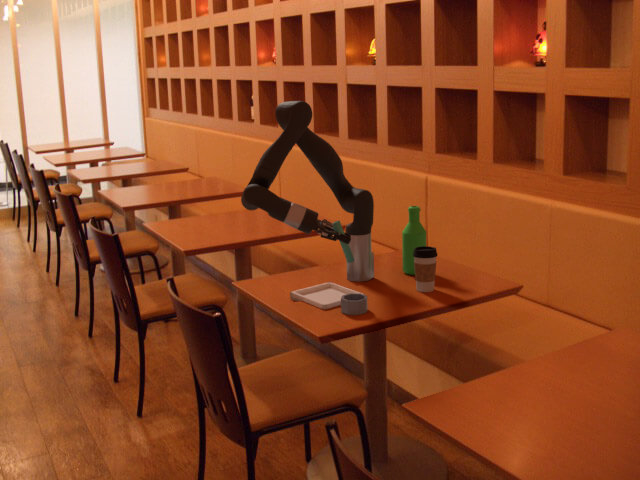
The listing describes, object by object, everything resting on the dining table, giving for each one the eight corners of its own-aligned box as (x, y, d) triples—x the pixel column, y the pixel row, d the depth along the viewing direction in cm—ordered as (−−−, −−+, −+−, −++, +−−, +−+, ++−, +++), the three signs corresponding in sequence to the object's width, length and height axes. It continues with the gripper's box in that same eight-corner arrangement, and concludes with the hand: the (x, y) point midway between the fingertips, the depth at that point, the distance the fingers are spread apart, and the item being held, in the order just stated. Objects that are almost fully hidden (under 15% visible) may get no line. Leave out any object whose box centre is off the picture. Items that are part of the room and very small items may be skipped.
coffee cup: (422, 294, 266) (422, 252, 263) (408, 288, 274) (407, 246, 270) (442, 290, 270) (442, 248, 267) (428, 284, 277) (428, 243, 274)
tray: (330, 288, 277) (329, 281, 276) (364, 301, 262) (364, 294, 261) (290, 298, 267) (290, 291, 266) (324, 312, 252) (323, 305, 252)
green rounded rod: (351, 259, 256) (336, 220, 252) (356, 259, 254) (341, 220, 250) (346, 262, 254) (331, 223, 250) (350, 263, 252) (336, 223, 249)
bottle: (426, 269, 297) (425, 204, 291) (426, 275, 288) (426, 208, 282) (402, 269, 298) (401, 204, 292) (402, 275, 289) (401, 209, 283)
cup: (356, 307, 256) (355, 291, 254) (372, 314, 249) (372, 297, 248) (336, 313, 251) (336, 297, 250) (352, 319, 245) (352, 303, 243)
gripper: (305, 213, 242) (355, 235, 244) (306, 202, 256) (354, 223, 258) (295, 234, 244) (345, 256, 246) (296, 222, 258) (344, 243, 260)
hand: (349, 239), depth 252 cm, fingers closed on green rounded rod, 2 cm apart
